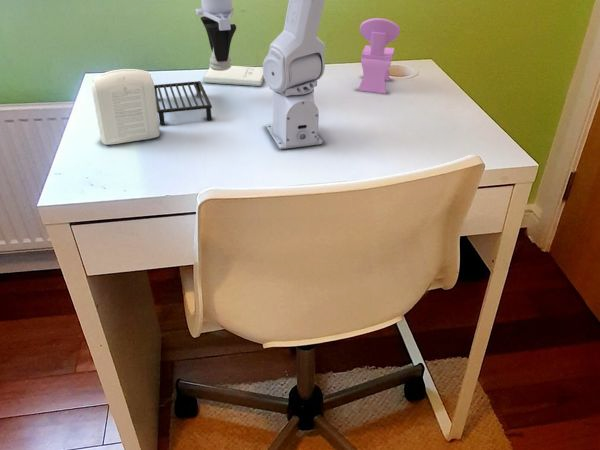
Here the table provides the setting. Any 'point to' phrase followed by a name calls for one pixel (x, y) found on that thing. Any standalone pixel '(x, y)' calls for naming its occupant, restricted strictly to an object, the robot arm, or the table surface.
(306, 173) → the table surface
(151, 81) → the photo printer
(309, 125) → the robot arm
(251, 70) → the hard drive
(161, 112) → the rack
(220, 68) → the rook chess piece
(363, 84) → the toy chair
